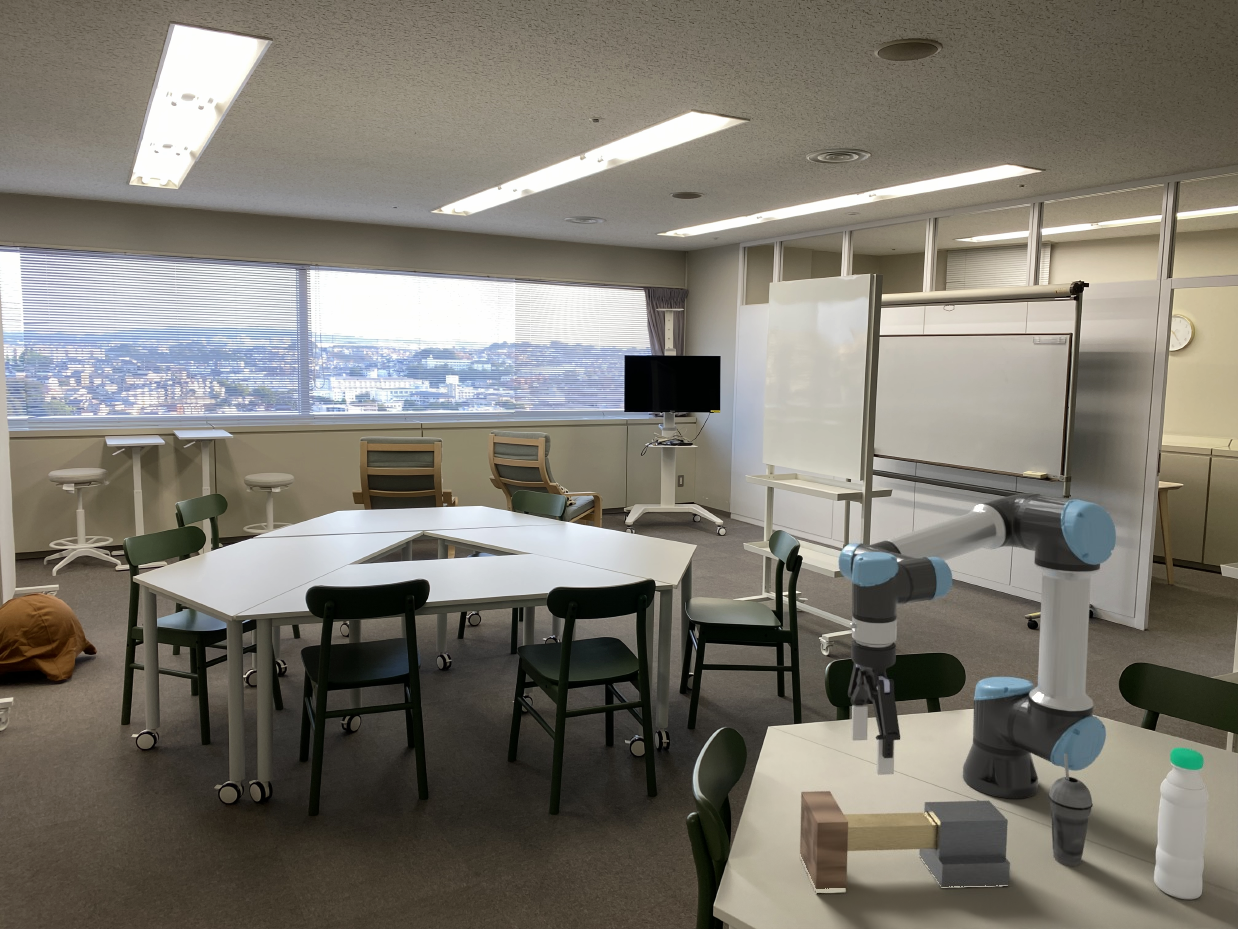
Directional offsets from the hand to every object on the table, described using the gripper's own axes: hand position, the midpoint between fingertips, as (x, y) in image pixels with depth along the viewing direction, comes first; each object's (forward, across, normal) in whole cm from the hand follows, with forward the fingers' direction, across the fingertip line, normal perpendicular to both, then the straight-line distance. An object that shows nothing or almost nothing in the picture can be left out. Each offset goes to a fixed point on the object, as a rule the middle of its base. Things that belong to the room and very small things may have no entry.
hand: (871, 756), depth 155 cm
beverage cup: (+22, -1, +37) cm, 43 cm away
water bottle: (+22, +9, +51) cm, 57 cm away
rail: (+16, +2, +1) cm, 16 cm away
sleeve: (+22, +2, +16) cm, 27 cm away
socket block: (+21, +2, -9) cm, 23 cm away
